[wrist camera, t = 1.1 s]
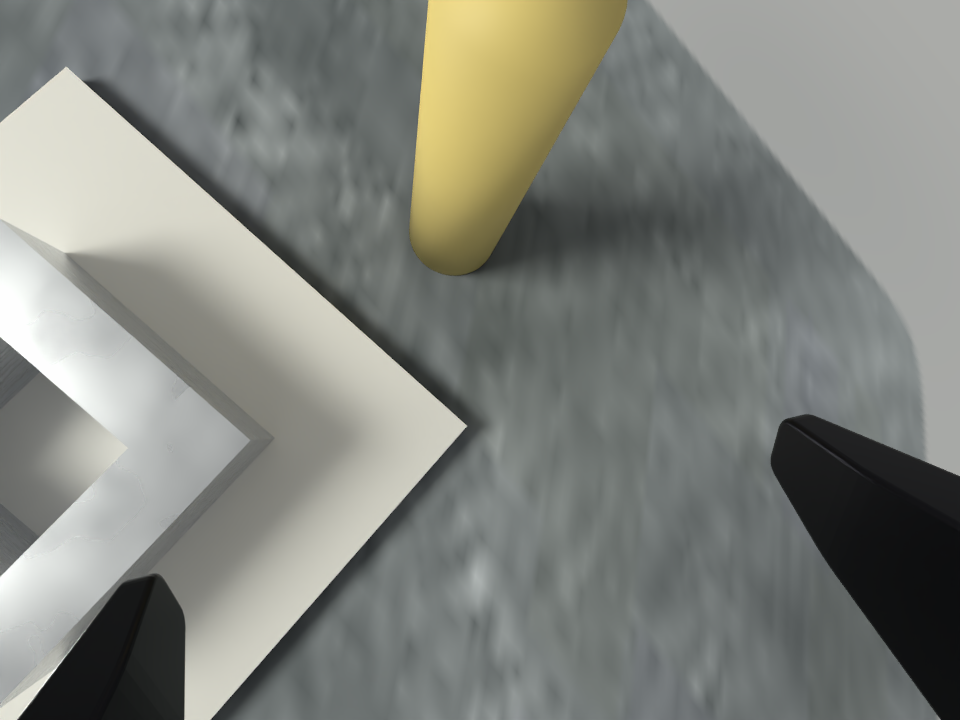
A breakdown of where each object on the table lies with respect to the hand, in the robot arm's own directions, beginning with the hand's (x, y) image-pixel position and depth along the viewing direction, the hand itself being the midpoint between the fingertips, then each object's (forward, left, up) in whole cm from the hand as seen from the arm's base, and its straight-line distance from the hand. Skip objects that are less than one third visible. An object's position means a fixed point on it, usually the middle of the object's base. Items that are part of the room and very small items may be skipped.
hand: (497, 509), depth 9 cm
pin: (+5, -7, -13) cm, 15 cm away
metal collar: (+9, +7, -13) cm, 18 cm away
